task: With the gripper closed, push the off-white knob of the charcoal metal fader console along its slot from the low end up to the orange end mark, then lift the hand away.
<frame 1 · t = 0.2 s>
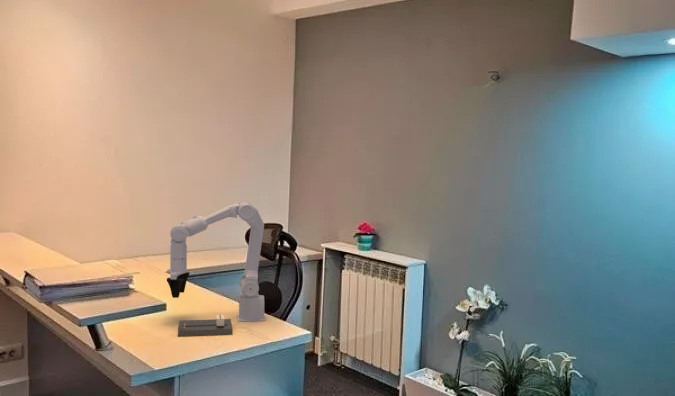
hand: (178, 294, 214), 10 cm above the table, tool pointing down, fingers open, 7 cm apart
fader console: (205, 330, 205), on the table
fader knob: (220, 320, 205), point 4 cm above the table, slide at 0.0 cm
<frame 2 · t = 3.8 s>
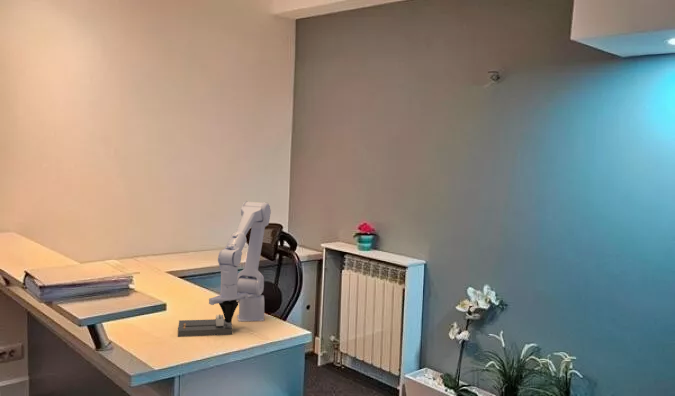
hand: (228, 321, 206), 3 cm above the table, tool pointing down, fingers closed
fader knob: (219, 320, 205), point 4 cm above the table, slide at 0.2 cm, touching gripper
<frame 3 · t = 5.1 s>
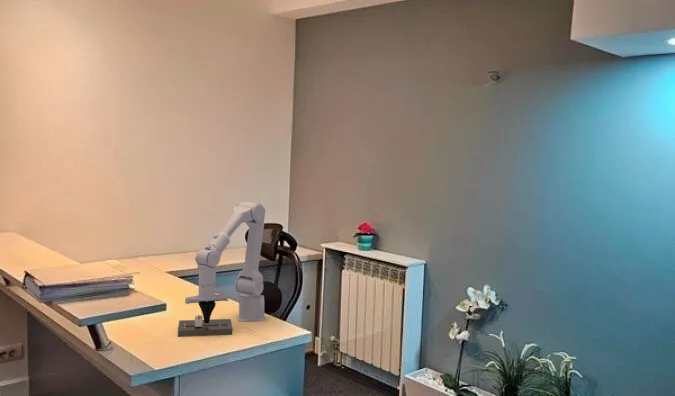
hand: (206, 322, 204), 3 cm above the table, tool pointing down, fingers closed
fader knob: (198, 320, 204), point 4 cm above the table, slide at 7.3 cm, touching gripper
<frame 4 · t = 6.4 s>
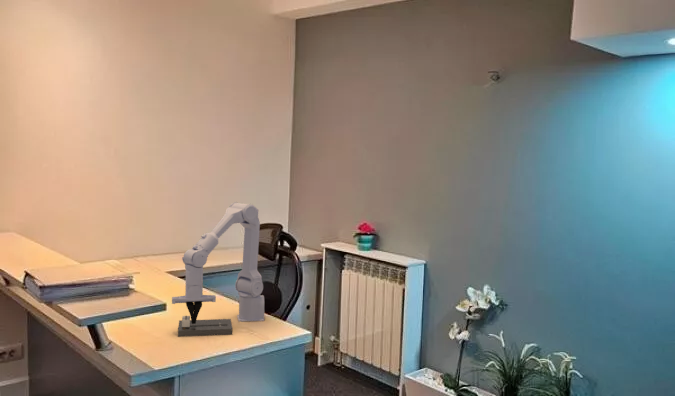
hand: (193, 323, 203), 3 cm above the table, tool pointing down, fingers closed
fader knob: (186, 321, 203), point 4 cm above the table, slide at 11.5 cm, touching gripper
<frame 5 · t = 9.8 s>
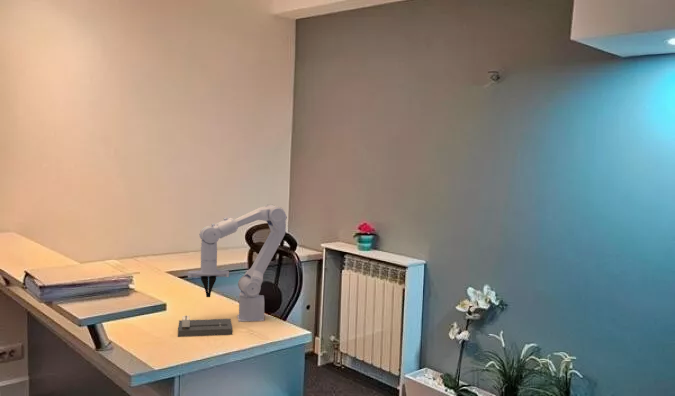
hand: (208, 296, 215), 9 cm above the table, tool pointing down, fingers closed
fader knob: (186, 321, 203), point 4 cm above the table, slide at 11.5 cm
at the end: fader knob slide at 11.5 cm; fader knob touching nothing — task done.
